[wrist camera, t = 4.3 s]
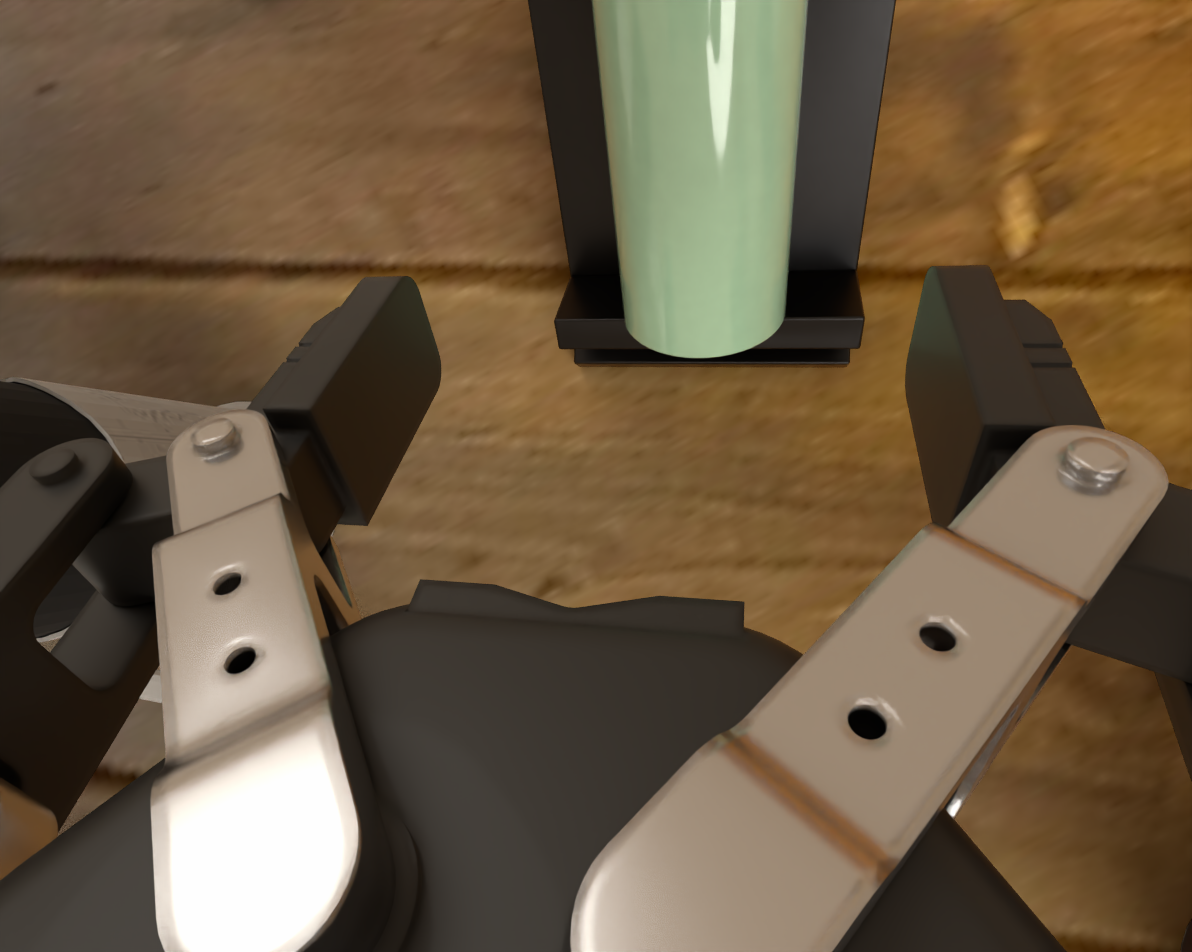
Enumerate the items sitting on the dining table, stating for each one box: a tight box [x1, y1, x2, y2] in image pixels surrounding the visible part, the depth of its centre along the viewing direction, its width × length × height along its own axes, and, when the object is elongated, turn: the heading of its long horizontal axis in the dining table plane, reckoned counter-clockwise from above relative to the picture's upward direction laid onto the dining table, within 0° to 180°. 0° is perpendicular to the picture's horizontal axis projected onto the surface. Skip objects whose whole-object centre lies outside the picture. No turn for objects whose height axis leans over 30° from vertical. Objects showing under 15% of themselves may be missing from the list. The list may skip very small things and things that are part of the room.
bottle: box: [591, 0, 808, 358], centre depth 18 cm, size 14×5×14 cm, turn 178°
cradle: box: [528, 0, 896, 367], centre depth 21 cm, size 16×10×14 cm, turn 178°
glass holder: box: [0, 377, 334, 703], centre depth 23 cm, size 9×14×15 cm, turn 64°
